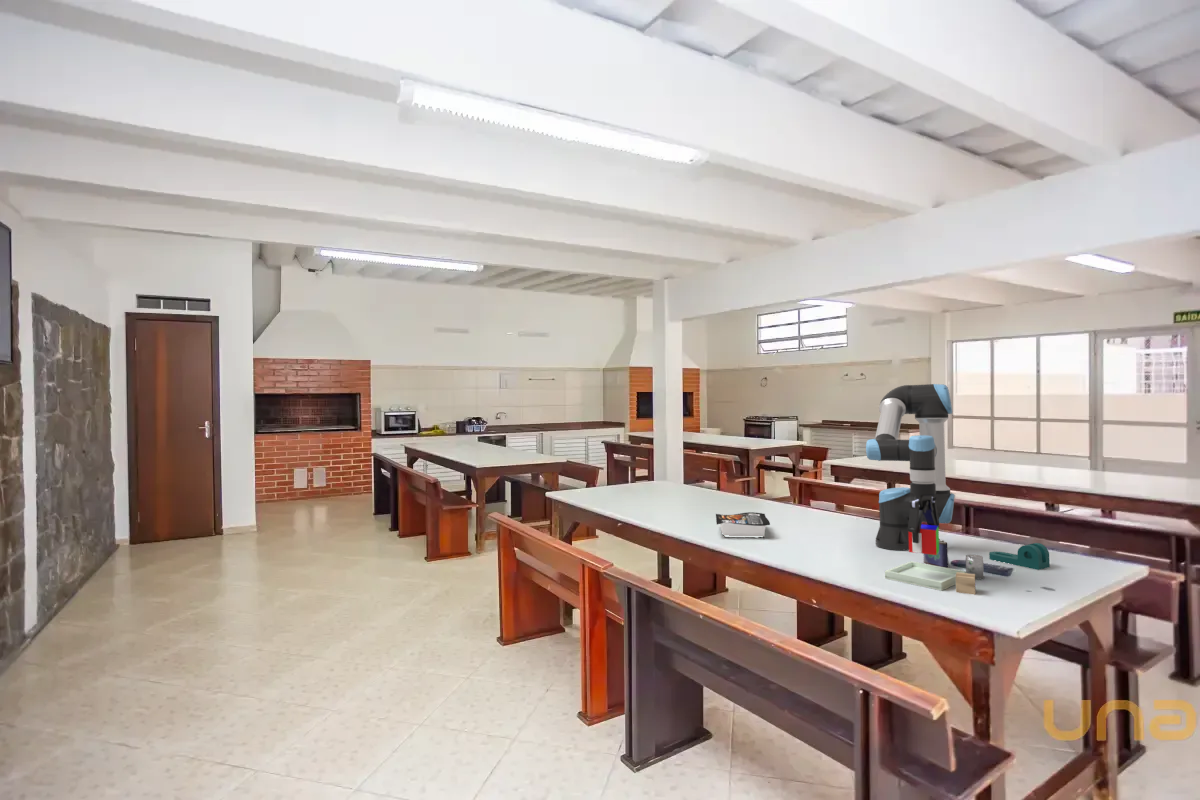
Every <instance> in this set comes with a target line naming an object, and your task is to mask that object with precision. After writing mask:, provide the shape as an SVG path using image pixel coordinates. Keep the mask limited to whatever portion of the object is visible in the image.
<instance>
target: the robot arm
mask: <svg viewBox="0 0 1200 800" xmlns="http://www.w3.org/2000/svg"><path fill="white" fill-rule="evenodd" d="M952 405H953V404H952V400H951V396H950V390H949V387H948V385H946V384H940V383H930V384H928V383H927V384H910V385H909V384H905V385H900V386H897V387H895V388H893V389H891V390H890V391H889V392H887V393H886V394H885V395H883V397H882V399H881V401H880V403H879V407H878V409H879V412H880V415H879V419H878V423H877V428H876V431H875V437H874V438H872V439H867V440H866V442H865V443H866V445H865V451H866V452H865V453H866V458H867V459H868V460H870V461H878V462H884V461H889V462H891V461H892V462H893V461H894V462H896V461H897V462H909V472H908V474H909V480H910V483H909V487H903V486H902V487H891V488H886V489H883V490H881V491H879V494H878V496H879V497H878V499H879V500H878V504H879V506H878V509H879V510H878V511H879V512H878V513H879V527H878V531H877V534H876V537H875V546H876V547H878V548H880V549H883V550H884V549H886V550H890V551H892V550H893V551H909V532H912V550H913V552H915V554H922V533H920V529H921V525H922V524H923V523H926V525H936V526H939V527H940V524H950V523H951V522H952V519H953V514H954V505H955V497H956V494H954V493H953V492H951V488H950V487H949V486H948V485H947V483H946V482H947V481H946V478H947V477H946V449H945V448H946V447H945V445H946V443H945V422H946V421H947V420H949V415H951V414H953V406H952ZM905 415H914V419H915V420H916V421H917V422H918V425H919V435H911V436H910V437H909V438H908V439H899V435H900V429H901V424H902V419H903V418H902V417H904V416H905ZM913 552H912V553H913Z"/></svg>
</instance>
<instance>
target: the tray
mask: <svg viewBox="0 0 1200 800" xmlns="http://www.w3.org/2000/svg"><path fill="white" fill-rule="evenodd" d="M956 572H959V573H966V570H965V571H964V570H959V569H954V568H950V567H948V568H945V567H939V566H934V565H929V564H925V563H924V562H918V561H911V560H910V561H908V562H905V563H903V564H900V565H897V566H894V567H892V568H889V569H887V570H885V571H884V580H885V579H886V580H891V581H895V582H900V583H905V584H908V585H913V586H919V587H923V588H928V589H933V590H935V591H936V590H937V591H940V592H941V591H945V590H946V589H948V588H951V587H952V586H956Z"/></svg>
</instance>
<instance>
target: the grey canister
mask: <svg viewBox="0 0 1200 800" xmlns="http://www.w3.org/2000/svg"><path fill="white" fill-rule="evenodd" d="M984 570H985V569H984V556H982V555H978V554H966V555H965V571H966V573H968V574H975V581H976V580H978V581H979V580H981V581H982V580H984V577H985V576H984V573H985V571H984Z"/></svg>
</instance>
